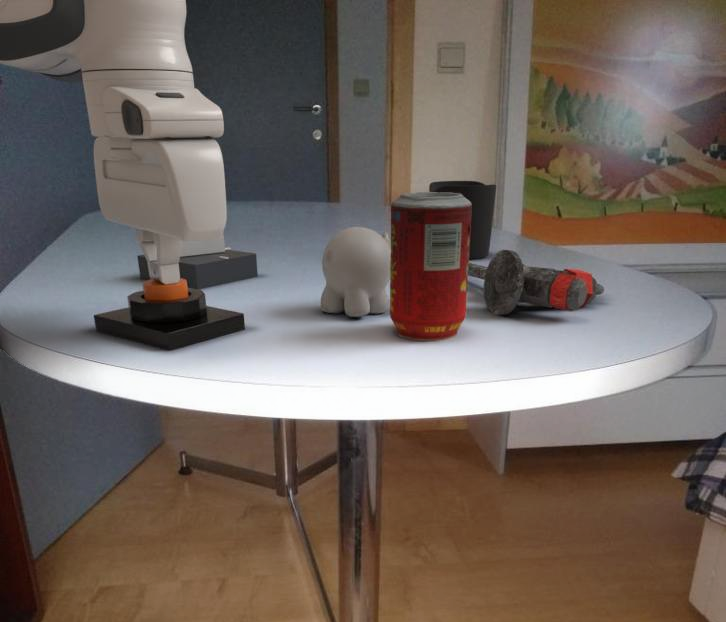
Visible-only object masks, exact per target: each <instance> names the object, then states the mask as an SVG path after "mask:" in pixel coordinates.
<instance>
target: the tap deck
mask: <svg viewBox="0 0 726 622" xmlns="http://www.w3.org/2000/svg"><path fill="white" fill-rule="evenodd" d="M178 264H179V272H180V278H182V279H185V280H186V281H187V287H188V288H193V289H198V290H202V289H207V288H211V287H217V286H221V285H225V284H230V283H234V282H240V281H245V280H249V279H253V278H258V276H259V273H258V259H257V253H255V252H249V251H240V250H234V249H232V248H231V247H225V252H221V253H212V254H203V255H195V256H186V257H180V260H179V263H178ZM137 265H138V271H139V278H140V280H144V281H147V280H150V279H151V278H150V276H149V270H148V263H147V260H146V258H145V255H144V254H140V255H138V254H137Z"/></svg>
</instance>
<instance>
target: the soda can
mask: <svg viewBox="0 0 726 622" xmlns="http://www.w3.org/2000/svg"><path fill="white" fill-rule="evenodd" d="M471 215H472V204H471V202H470V201H469V200H468V199H466V198H465V197H464V196H463V195H462V194H460V193H447V192H440V193H439V192H429V191H419V192H414V193H411V192H407V193H406V192H405V193H402V194H400V195H399V196H398V197H397V198H395V199H394V200H393V201H392V203H391V205H390V239H391V259H390V280H389V316H390V319H391V321H392V323H393V324H394V327H395V329H396V334H397V336H399V337H401V338H403V339H408V340H413V341H420V342H421V341H422V342H434V341H435V342H436V341H437V342H438V341H444V340H445V341H446V340H450V339H453V338H455V337H457V335H458V332H459V329H460V328H461V326H462V324H463V323H464V321H465V319H466V315H467V298H468V297H467V296H468V284H469V283H468V281H469V276H468V267H469V263H470V260H469V250H470V232H471Z"/></svg>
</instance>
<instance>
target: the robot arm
mask: <svg viewBox="0 0 726 622" xmlns="http://www.w3.org/2000/svg"><path fill="white" fill-rule="evenodd" d="M186 1H187V0H0V64H1V65H4V66H8V67H11V68H17V69H20V70H24V71H28V72H34V73H38V74H41V75H43V76H46V77H48V78H50V79H53V80H55V81H59V82H64V83H77V82H82V85H83V91H84V96H85V102H86V109H87V115H88V122H89V128H90V134H91V136H92V137H96V138H95V140H94V143H93V163H94V165H93V166H94V173H95V174H94V175H95V183H96V191H97V192H96V193H97V199H98V200H97V201H98V205H99V208H100V211H101V214H102V216H103V218H104V220H106V221H107V222H111V223H115V224H119V225H123V226H125V227H126V226H128V227H130V228H134V229H136V234H137V239H138V243H139V245H140V248H141V250H142V252H143V255H145V258H146V260H147V263H148V270H149V276H150V278H151V279H153V280H155V281H159V282H161V283H163V284H166V285H167V284H174V283H178V282H179V281H180V272H179V264H178V263H179V260H180V255H181V250H182V245H183V243H182V240H183V241H201V240H210V239H217V238H220V237H221V236H222V234H224V231H225V228H226V224H227V220H228V219H227V216H228V215H227V190H226V177H225V176H226V175H225V166H224V158H223V153H222V149H221V147H220V144H219V143H218V141H217V140H215V138H216V139H217V138H221V137H222V136H223V135H224V131H225V123H224V122H225V121H224V114H223V110H222V108H221V107H220V106H219V105H218V104H216V103H215V102H213V101H212V100H210V99H209V98H207V97H206V96H205V95H204V94H203V93H201V91H200V90H199V89H198V88H196V87H195V81H194V71H193V70H194V69H193V66H192V62H191V59H190V57H189V53H188V51H187V47H186V41H185V27H186V21H187V20H186V19H187V13H188V12H187V11H188V10H187V2H186Z"/></svg>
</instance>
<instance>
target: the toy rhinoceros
mask: <svg viewBox="0 0 726 622" xmlns="http://www.w3.org/2000/svg"><path fill="white" fill-rule="evenodd" d="M390 259H391V238H389V234H388V232H386V231H384V232H383V234H382V235H381V234H379V233H378V232H377V231H375V230H374V229H371V228H368V227H363V226H352V227H347V228H345V229H342V230H340V231H339V232H337V233H336V234H335V235H334V236H332V238H331V239H329V241H328V243H327V244H326V245H325V248H324V251H323V254H322V259H321V267H322V274H323V277H324V279H325V286H324V289H323V291H322V293H321V296H320V302H319V303H320V309H321V310H322V311H323V312H325V313H328V314H342V313H343V312H344V313H345V315H346V316H348V317H351V318H355V317H365V316H367V315H368V314H373V315H375V314H384V313H386V312H387V311H388V309H389V305H390V302H389V296H388V293H387V289H386V288H387V286H388V284H389V283H390Z"/></svg>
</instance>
